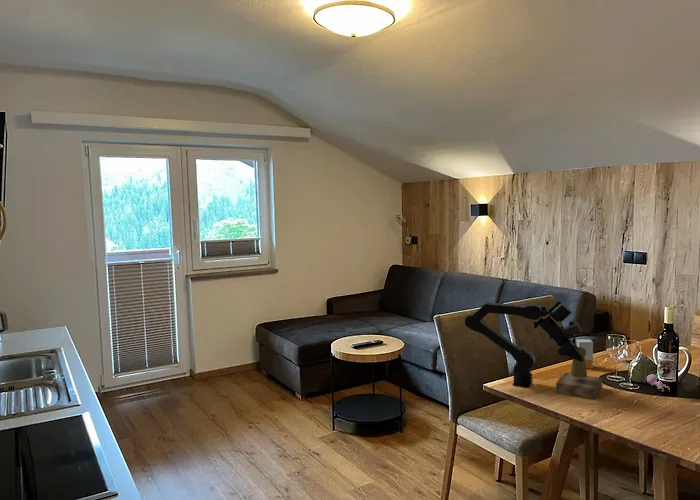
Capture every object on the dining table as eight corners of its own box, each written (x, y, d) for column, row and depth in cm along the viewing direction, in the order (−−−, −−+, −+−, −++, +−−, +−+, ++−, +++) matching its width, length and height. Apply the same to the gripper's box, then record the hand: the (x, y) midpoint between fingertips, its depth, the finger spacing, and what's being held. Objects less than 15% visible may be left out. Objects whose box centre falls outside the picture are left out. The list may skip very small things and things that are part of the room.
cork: (590, 376, 201) (591, 348, 200) (578, 378, 198) (579, 350, 197) (578, 371, 206) (578, 344, 205) (567, 373, 204) (567, 346, 203)
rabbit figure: (674, 395, 198) (651, 376, 212) (675, 381, 196) (652, 362, 211) (657, 395, 198) (635, 376, 212) (659, 381, 196) (637, 363, 211)
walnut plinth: (556, 392, 201) (556, 382, 201) (564, 381, 213) (564, 372, 212) (595, 399, 193) (595, 388, 193) (602, 387, 204) (602, 377, 204)
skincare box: (578, 368, 229) (578, 341, 228) (576, 365, 233) (576, 339, 232) (593, 368, 228) (593, 341, 227) (590, 365, 232) (590, 339, 231)
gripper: (567, 321, 193) (599, 352, 190) (568, 311, 210) (598, 339, 207) (545, 340, 197) (576, 371, 194) (548, 328, 214) (576, 357, 211)
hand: (582, 359), depth 201 cm, fingers closed on cork, 5 cm apart
